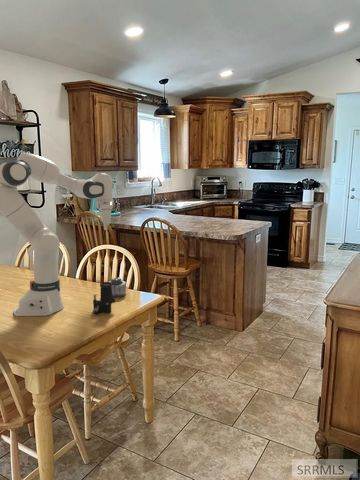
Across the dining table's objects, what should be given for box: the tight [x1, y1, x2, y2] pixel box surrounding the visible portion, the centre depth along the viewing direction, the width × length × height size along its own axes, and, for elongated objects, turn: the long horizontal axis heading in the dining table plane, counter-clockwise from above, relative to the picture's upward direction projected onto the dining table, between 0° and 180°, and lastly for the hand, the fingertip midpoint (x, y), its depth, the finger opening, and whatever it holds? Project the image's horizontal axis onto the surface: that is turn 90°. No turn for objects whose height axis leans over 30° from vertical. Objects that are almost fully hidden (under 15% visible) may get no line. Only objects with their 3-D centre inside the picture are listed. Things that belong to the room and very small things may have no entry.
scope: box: [92, 281, 116, 315], centre depth 182 cm, size 8×14×10 cm
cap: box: [110, 277, 122, 285], centre depth 206 cm, size 5×5×6 cm
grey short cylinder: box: [108, 279, 127, 299], centre depth 206 cm, size 10×10×6 cm
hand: (105, 229), depth 207 cm, fingers closed
